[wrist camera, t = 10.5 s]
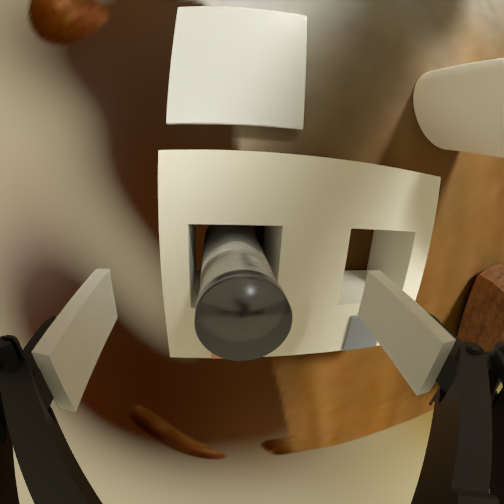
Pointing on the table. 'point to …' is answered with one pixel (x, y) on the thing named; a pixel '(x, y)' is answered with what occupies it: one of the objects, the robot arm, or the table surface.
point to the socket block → (293, 236)
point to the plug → (239, 297)
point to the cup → (463, 107)
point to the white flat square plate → (238, 67)
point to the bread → (485, 310)
